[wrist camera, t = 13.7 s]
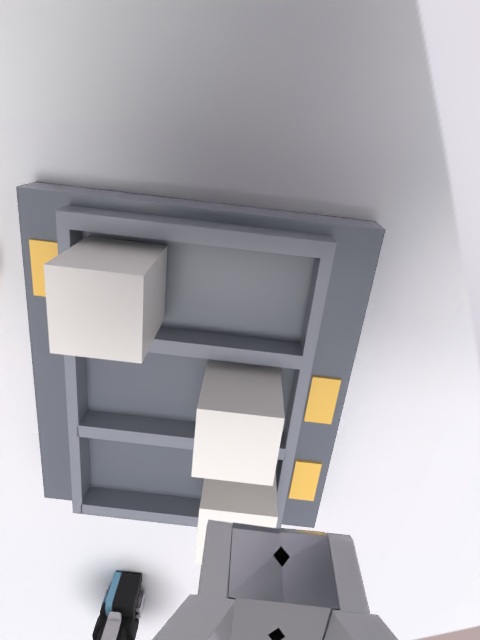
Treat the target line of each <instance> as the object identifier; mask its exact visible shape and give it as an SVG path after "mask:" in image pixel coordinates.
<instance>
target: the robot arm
mask: <svg viewBox="0 0 480 640" xmlns="http://www.w3.org/2000/svg"><path fill="white" fill-rule="evenodd" d="M152 640H398V639H397V638H396V636H395V635H394V634H393V633H392V632H391V630H390V629H389V628H388V627H387V625H386V624H385V623H384V622H383V621H382V619H381V618H380V617H379V616H378V615H375V614H370V611H369V607H368V602H367V598H366V594H365V589H364V585H363V581H362V576H361V572H360V568H359V564H358V559H357V555H356V551H355V546H354V542H353V539H352V538H351V536H350V535H342V534H333V533H324V532H317V531H306V530H296V529H285V528H271V527H263V526H256V525H249V524H241V523H234V522H233V523H232V522H224V521H216V520H209V519H208V523H207V527H206V534H205V542H204V550H203V557H202V565H201V573H200V580H199V588H198V595H191V594H190V595H189V596H188V598H187V599H186V600H185V601H184V602H183V604H182V605H181V606H180V607H179V608H178V610H177V611H176V612H175V613H174V614H173V615H172V617H171V618H170V619H169V620H168V621H167V623H166V624H165V625H164V626H163V627H162V629H161V630H160V631H159V632H158V633H157V635H156V636H155V637H154V638H153V639H152Z"/></svg>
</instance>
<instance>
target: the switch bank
mask: <svg viewBox="0 0 480 640" xmlns="http://www.w3.org/2000/svg"><path fill="white" fill-rule="evenodd" d="M16 188H17V199H18V210H19V221H20V232H21V243H22V254H23V265H24V276H25V287H26V298H27V309H28V320H29V331H30V342H31V353H32V364H33V375H34V386H35V397H36V408H37V419H38V430H39V441H40V452H41V463H42V474H43V485H44V496H45V497H46V498H55V499H64V500H72V503H73V513H79V514H87V515H96V516H105V517H114V518H123V519H132V520H141V521H150V522H158V523H167V524H176V525H185V526H194V527H198V518H199V508H200V501H201V495H202V489H203V482H204V478H198V477H191V473H192V461H193V449H194V437H195V425H196V412H197V405H198V401H199V397H200V392H201V388H202V383H203V379H204V374H205V370H206V365H207V361H208V359H212V360H220V361H229V362H238V363H247V364H255V365H264V366H273V367H280V368H281V380H282V392H283V404H284V416H285V420H284V425H283V431H282V437H281V442H280V448H279V454H278V459H277V465H276V486H277V508H278V520H277V525H276V528H281V524H285V525H294V526H303V527H312V528H314V526H315V522H316V518H317V514H318V509H319V505H320V501H321V497H322V493H323V488H324V484H325V480H326V476H327V472H328V468H329V463H330V459H331V455H332V451H333V447H334V442H335V438H336V434H337V430H338V426H339V421H340V417H341V413H342V409H343V405H344V401H345V396H346V392H347V388H348V384H349V380H350V375H351V371H352V367H353V363H354V359H355V354H356V350H357V346H358V342H359V338H360V334H361V329H362V325H363V321H364V317H365V313H366V308H367V304H368V300H369V296H370V292H371V287H372V283H373V279H374V275H375V271H376V267H377V262H378V258H379V254H380V250H381V246H382V241H383V237H384V233H385V229H384V228H383V227H382V226H380V225H379V224H378V223H377V222H375V221H367V220H358V219H350V218H341V217H332V216H324V215H315V214H307V213H298V212H289V211H281V210H272V209H264V208H255V207H246V206H238V205H229V204H221V203H212V202H203V201H195V200H186V199H178V198H169V197H160V196H152V195H143V194H135V193H126V192H117V191H109V190H100V189H91V188H83V187H74V186H66V185H57V184H48V183H40V182H33V183H29V184H25V185H21V186H17V187H16ZM87 236H91V237H100V238H109V239H117V240H126V241H134V242H143V243H152V244H160V245H168V246H167V269H166V293H165V316H164V320H163V322H162V324H161V326H160V328H159V330H158V332H157V334H156V336H155V338H154V340H153V342H152V344H151V346H150V348H149V350H148V352H147V354H146V356H145V358H144V360H143V362H142V364H141V363H132V362H123V361H114V360H106V359H97V358H88V357H80V356H71V355H62V354H53V353H50V348H49V334H48V320H47V306H46V293H45V279H44V265H43V264H45V263H46V262H48V261H50V260H51V259H53V258H54V257H56V256H57V255H59V254H61V253H62V252H64V251H65V250H67V249H69V248H70V247H72V246H73V245H75V244H76V243H78V242H80V241H81V240H83V239H84V238H86V237H87Z"/></svg>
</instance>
